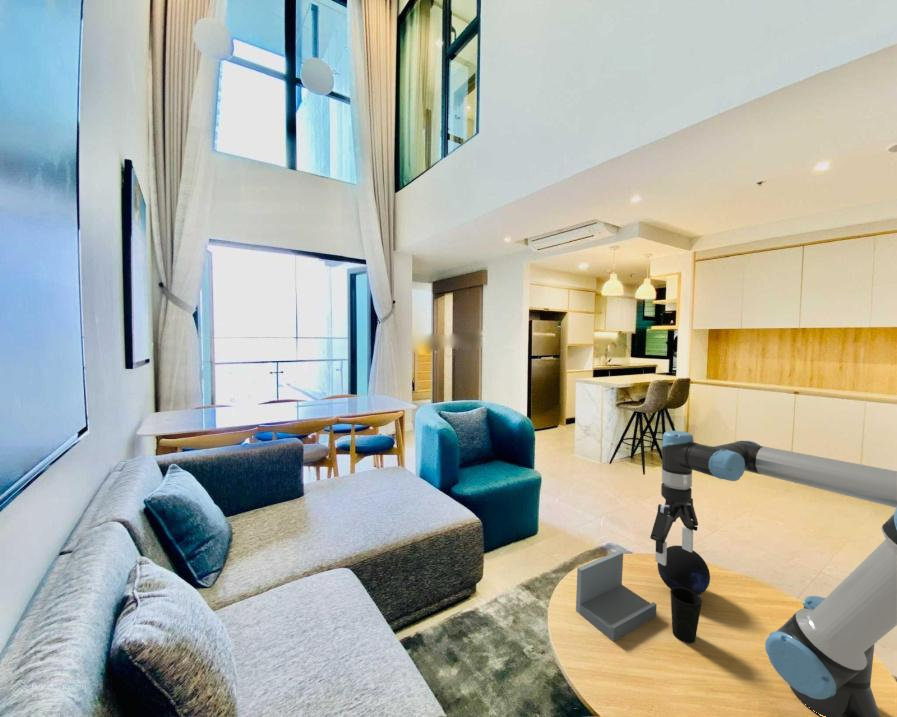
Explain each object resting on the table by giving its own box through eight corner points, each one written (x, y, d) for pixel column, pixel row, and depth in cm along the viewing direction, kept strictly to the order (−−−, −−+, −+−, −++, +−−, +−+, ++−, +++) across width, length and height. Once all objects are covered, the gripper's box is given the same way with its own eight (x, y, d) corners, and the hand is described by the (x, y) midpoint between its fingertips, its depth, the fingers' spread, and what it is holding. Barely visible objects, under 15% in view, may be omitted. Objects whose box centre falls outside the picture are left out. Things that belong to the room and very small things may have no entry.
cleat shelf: (655, 616, 116) (658, 573, 115) (613, 641, 106) (615, 594, 105) (617, 590, 127) (619, 550, 127) (575, 610, 118) (577, 567, 117)
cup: (667, 637, 108) (669, 597, 107) (669, 621, 114) (671, 583, 113) (699, 651, 103) (701, 609, 102) (699, 633, 110) (702, 593, 109)
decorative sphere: (695, 614, 117) (698, 568, 116) (647, 586, 130) (649, 544, 129) (716, 596, 125) (719, 553, 124) (670, 572, 138) (672, 532, 137)
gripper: (686, 473, 119) (684, 539, 119) (637, 488, 106) (636, 562, 107) (712, 481, 112) (710, 551, 113) (664, 498, 100) (662, 576, 101)
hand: (674, 556), depth 110 cm, fingers open, 13 cm apart
